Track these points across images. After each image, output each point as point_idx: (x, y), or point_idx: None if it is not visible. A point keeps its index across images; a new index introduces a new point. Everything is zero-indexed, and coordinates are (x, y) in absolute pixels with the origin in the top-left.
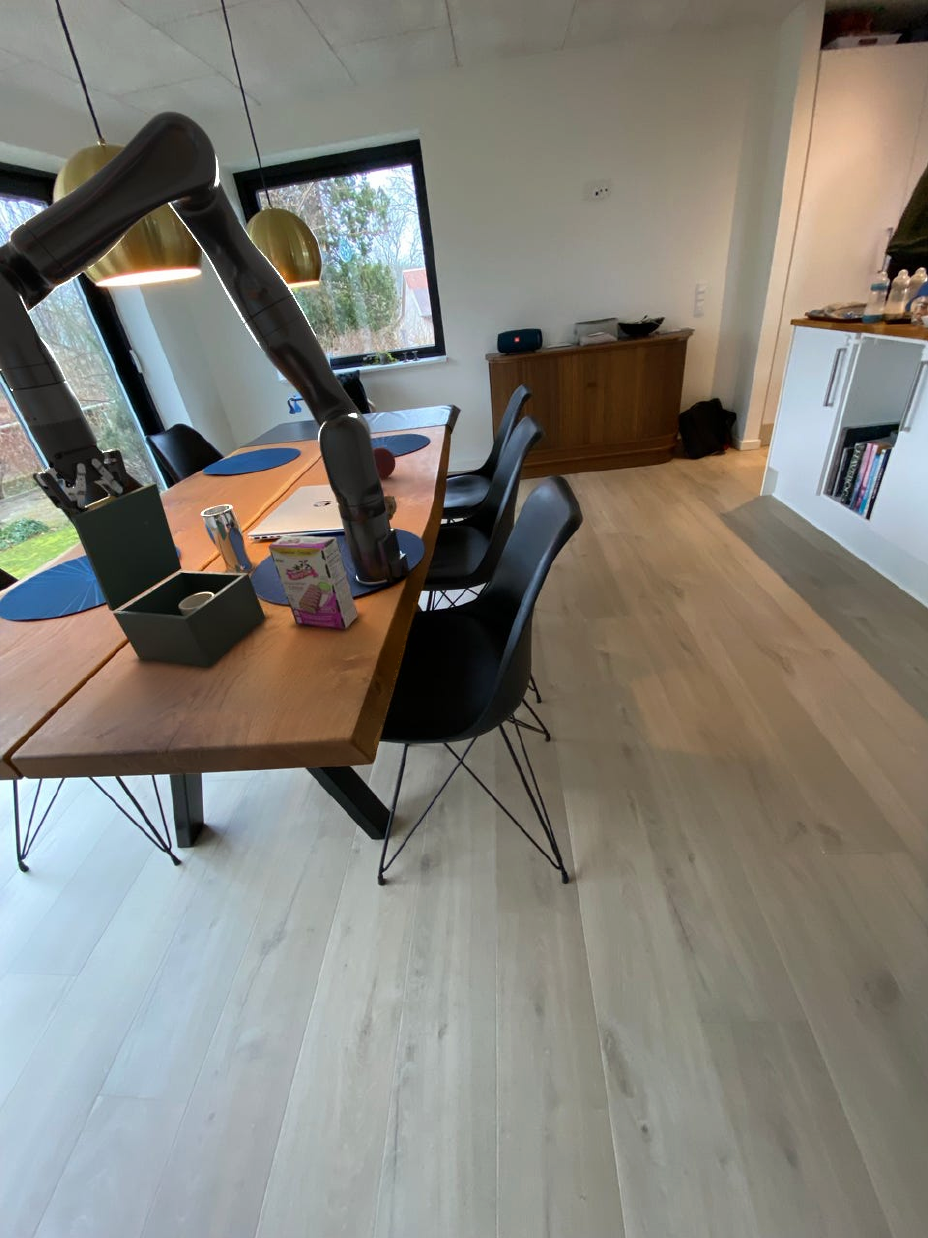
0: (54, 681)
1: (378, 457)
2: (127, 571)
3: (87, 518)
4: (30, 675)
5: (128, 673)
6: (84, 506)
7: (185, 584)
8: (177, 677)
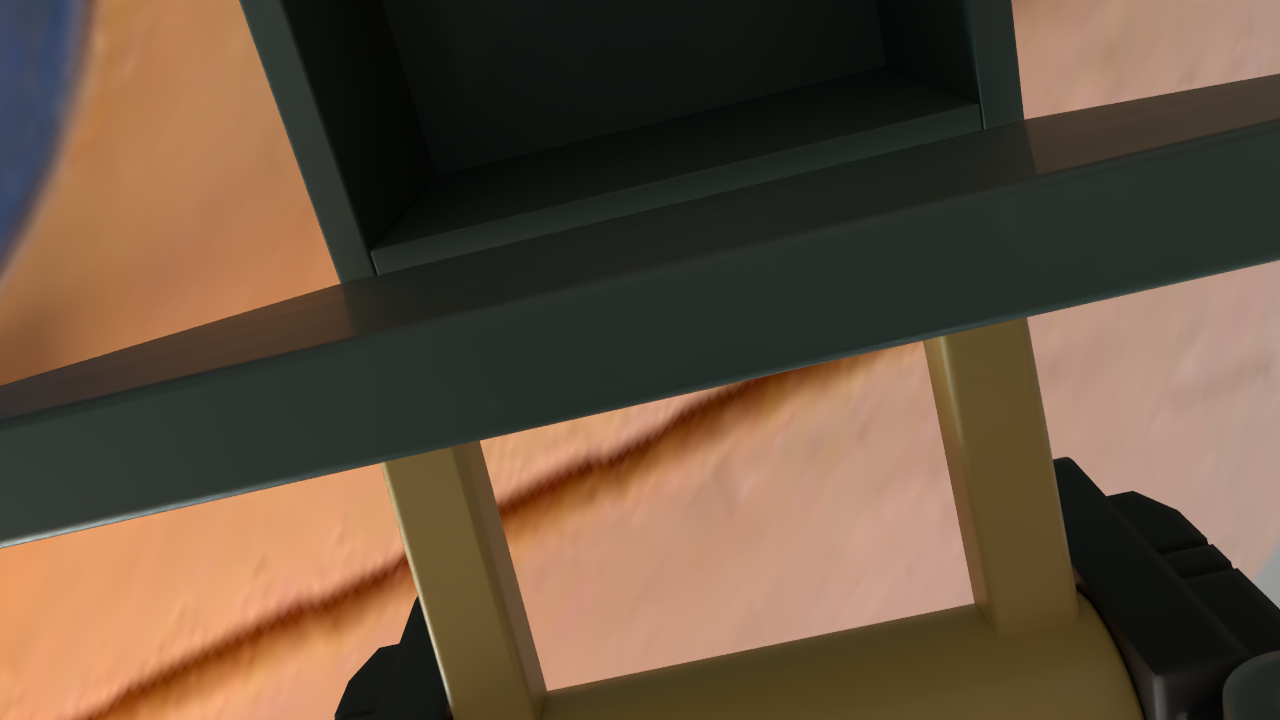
0: (1196, 362)
1: None
2: (839, 170)
3: None
4: None
5: (1029, 2)
6: (1252, 675)
7: (402, 222)
8: None
